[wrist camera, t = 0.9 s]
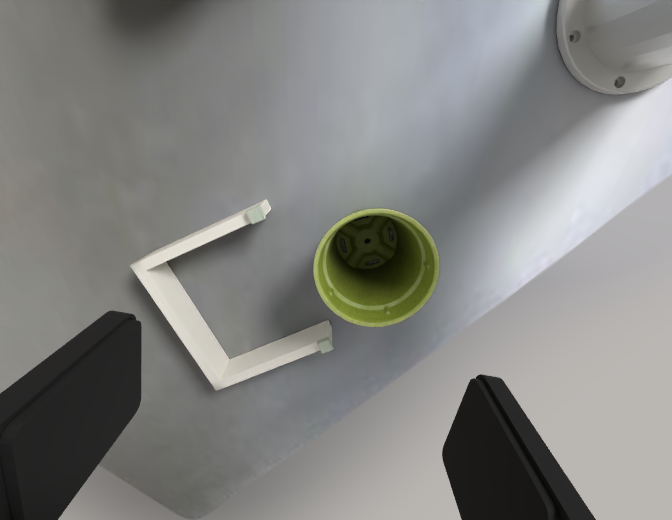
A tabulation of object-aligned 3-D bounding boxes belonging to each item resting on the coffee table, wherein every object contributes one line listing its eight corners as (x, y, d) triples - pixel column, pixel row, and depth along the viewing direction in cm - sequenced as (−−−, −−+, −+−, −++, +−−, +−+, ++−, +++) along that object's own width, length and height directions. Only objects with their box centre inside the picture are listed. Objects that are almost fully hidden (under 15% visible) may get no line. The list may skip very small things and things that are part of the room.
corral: (267, 197, 32) (258, 205, 28) (333, 327, 37) (333, 349, 33) (148, 252, 34) (125, 266, 30) (226, 370, 39) (214, 395, 35)
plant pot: (333, 294, 36) (334, 340, 28) (305, 207, 33) (296, 230, 24) (422, 269, 35) (449, 309, 27) (401, 179, 32) (425, 192, 24)
